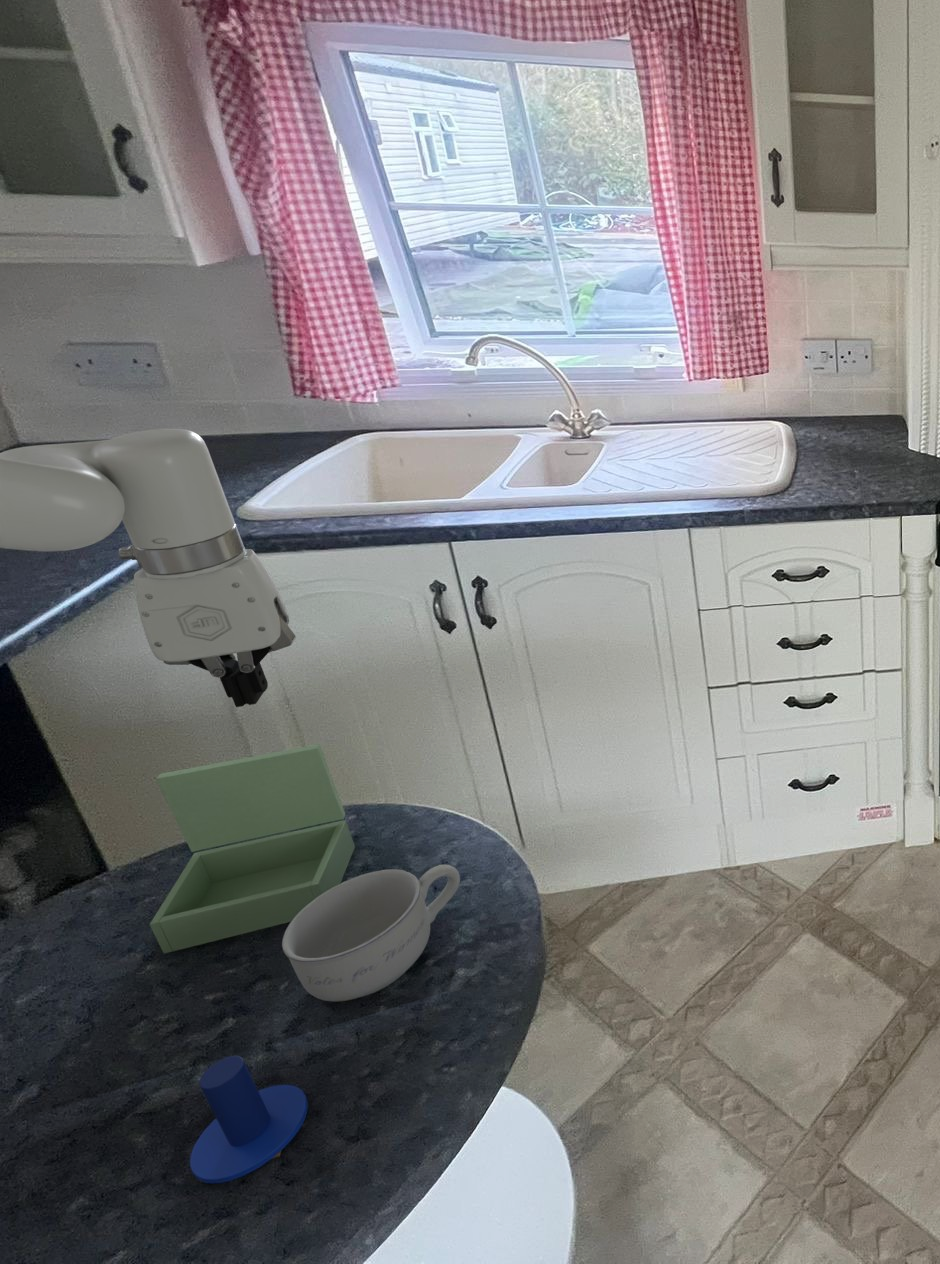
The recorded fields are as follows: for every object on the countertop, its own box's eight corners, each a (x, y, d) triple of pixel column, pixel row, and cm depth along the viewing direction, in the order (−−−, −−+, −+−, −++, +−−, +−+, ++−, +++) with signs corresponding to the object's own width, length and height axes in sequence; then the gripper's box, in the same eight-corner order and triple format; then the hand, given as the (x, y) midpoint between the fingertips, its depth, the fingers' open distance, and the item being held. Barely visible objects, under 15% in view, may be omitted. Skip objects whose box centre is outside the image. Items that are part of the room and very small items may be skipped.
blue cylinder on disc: (174, 1200, 63) (138, 1136, 61) (214, 1108, 70) (183, 1047, 67) (291, 1160, 66) (261, 1097, 63) (320, 1075, 72) (294, 1015, 69)
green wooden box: (330, 916, 88) (318, 883, 86) (165, 958, 83) (149, 924, 81) (356, 850, 96) (345, 819, 94) (208, 885, 91) (194, 852, 89)
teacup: (307, 1042, 75) (282, 981, 72) (302, 960, 83) (278, 902, 80) (483, 957, 84) (466, 899, 81) (463, 890, 92) (448, 834, 89)
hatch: (317, 748, 90) (319, 743, 90) (155, 778, 84) (159, 773, 85) (343, 819, 94) (345, 814, 94) (191, 852, 89) (194, 846, 89)
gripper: (71, 578, 77) (144, 735, 84) (271, 554, 83) (324, 703, 90) (113, 545, 84) (178, 694, 91) (296, 525, 89) (344, 666, 96)
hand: (251, 698), depth 90 cm, fingers closed
